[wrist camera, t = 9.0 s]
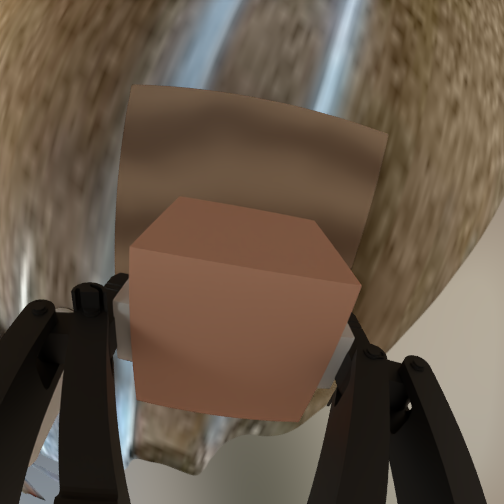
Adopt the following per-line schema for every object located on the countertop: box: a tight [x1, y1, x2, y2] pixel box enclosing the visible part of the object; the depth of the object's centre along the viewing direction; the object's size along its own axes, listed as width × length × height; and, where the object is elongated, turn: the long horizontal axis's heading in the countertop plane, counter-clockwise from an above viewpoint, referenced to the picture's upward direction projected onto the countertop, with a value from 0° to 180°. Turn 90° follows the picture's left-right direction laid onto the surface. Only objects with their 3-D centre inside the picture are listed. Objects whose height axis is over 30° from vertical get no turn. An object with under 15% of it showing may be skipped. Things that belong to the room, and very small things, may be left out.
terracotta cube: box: [129, 196, 362, 422], centre depth 13 cm, size 7×7×7 cm
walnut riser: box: [115, 85, 388, 275], centre depth 25 cm, size 20×20×6 cm
